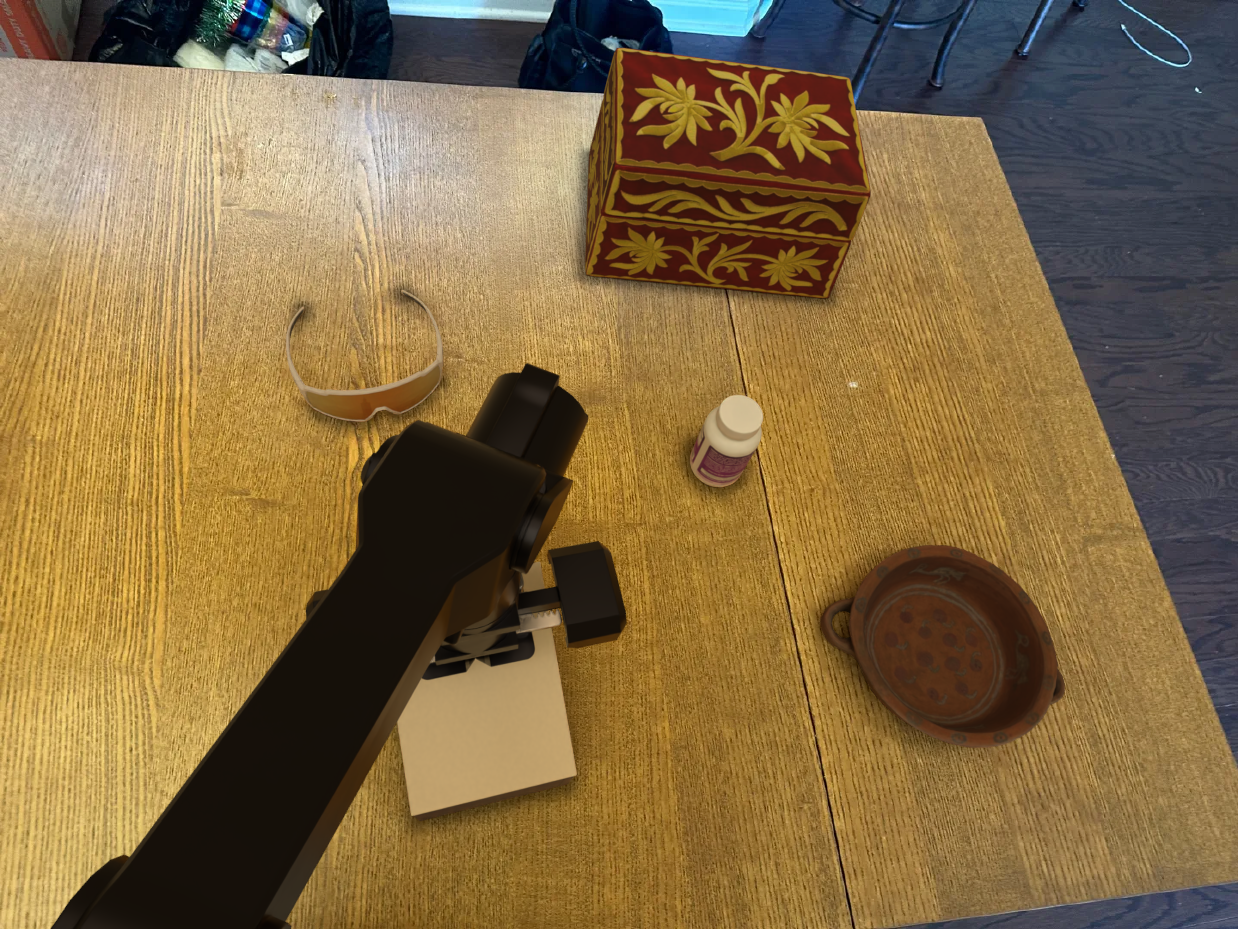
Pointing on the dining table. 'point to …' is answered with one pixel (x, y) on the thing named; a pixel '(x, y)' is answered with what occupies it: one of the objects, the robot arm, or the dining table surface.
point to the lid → (487, 728)
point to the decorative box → (723, 175)
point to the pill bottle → (727, 441)
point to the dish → (951, 646)
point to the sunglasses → (374, 399)
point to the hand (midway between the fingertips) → (473, 649)
